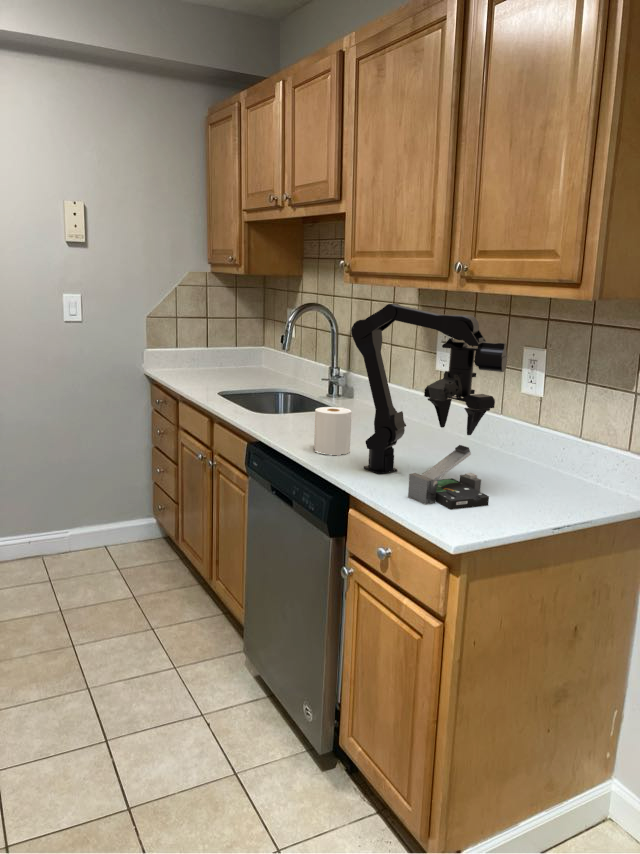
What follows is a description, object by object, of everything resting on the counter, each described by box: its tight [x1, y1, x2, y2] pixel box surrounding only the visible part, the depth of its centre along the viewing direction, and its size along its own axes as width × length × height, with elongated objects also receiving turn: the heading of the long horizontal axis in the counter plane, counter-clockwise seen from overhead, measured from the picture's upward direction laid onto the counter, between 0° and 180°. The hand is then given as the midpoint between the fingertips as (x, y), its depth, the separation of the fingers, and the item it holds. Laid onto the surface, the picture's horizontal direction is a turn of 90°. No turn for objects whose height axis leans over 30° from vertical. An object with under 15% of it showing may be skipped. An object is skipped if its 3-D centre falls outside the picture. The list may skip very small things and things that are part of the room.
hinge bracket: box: [407, 472, 438, 505], centre depth 161 cm, size 7×3×6 cm, turn 34°
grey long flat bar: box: [421, 444, 472, 480], centre depth 164 cm, size 4×13×2 cm, turn 124°
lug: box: [458, 472, 482, 492], centre depth 170 cm, size 5×2×4 cm, turn 34°
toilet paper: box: [313, 406, 353, 456], centre depth 201 cm, size 10×10×12 cm
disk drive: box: [435, 478, 490, 511], centre depth 164 cm, size 10×3×15 cm
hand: (455, 431), depth 174 cm, fingers open, 9 cm apart
